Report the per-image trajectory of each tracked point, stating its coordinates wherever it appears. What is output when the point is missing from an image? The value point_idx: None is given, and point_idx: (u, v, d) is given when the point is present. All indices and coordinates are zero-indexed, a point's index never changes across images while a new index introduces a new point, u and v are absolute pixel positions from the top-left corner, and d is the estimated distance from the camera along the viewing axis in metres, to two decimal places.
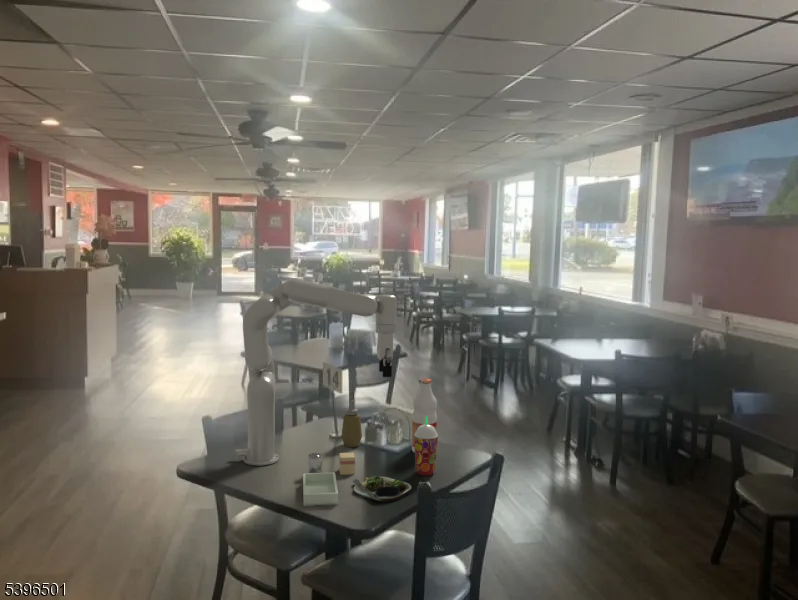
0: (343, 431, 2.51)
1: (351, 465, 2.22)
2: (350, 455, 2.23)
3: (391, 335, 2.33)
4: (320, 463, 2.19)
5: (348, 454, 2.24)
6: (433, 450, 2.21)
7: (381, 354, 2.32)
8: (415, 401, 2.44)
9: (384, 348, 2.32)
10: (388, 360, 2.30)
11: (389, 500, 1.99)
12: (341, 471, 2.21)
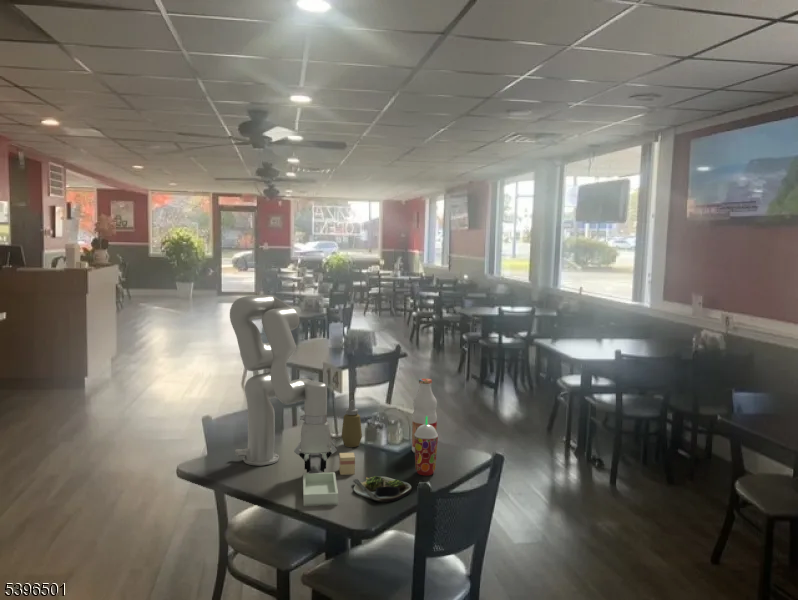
0: (343, 431, 2.51)
1: (351, 465, 2.22)
2: (350, 455, 2.23)
3: None
4: (320, 463, 2.19)
5: (348, 454, 2.24)
6: (433, 450, 2.21)
7: (330, 445, 2.18)
8: (415, 401, 2.44)
9: (330, 438, 2.19)
10: None
11: (389, 500, 1.99)
12: (341, 471, 2.21)
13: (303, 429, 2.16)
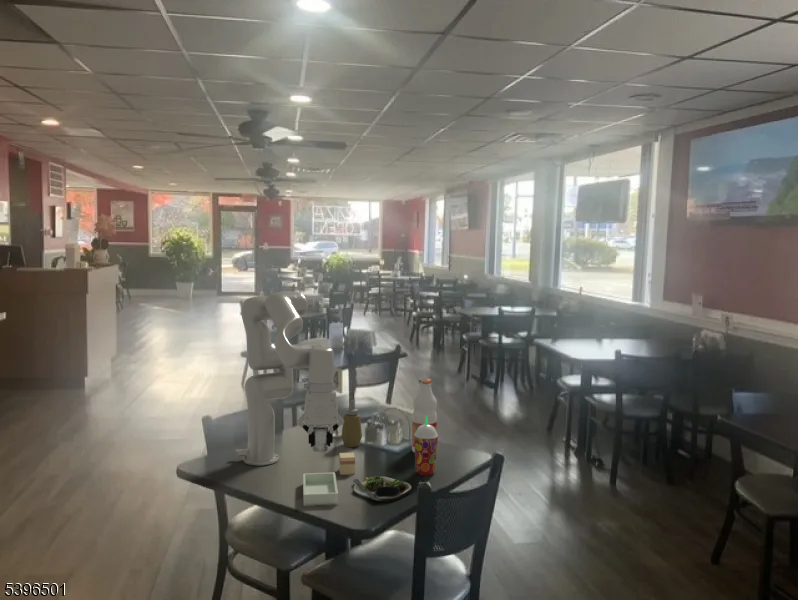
0: (343, 431, 2.51)
1: (351, 465, 2.22)
2: (350, 455, 2.23)
3: None
4: (326, 436, 1.97)
5: (348, 454, 2.24)
6: (433, 450, 2.21)
7: (337, 417, 1.97)
8: (415, 401, 2.44)
9: (337, 409, 1.97)
10: None
11: (388, 500, 1.99)
12: (341, 471, 2.21)
13: (307, 398, 1.95)
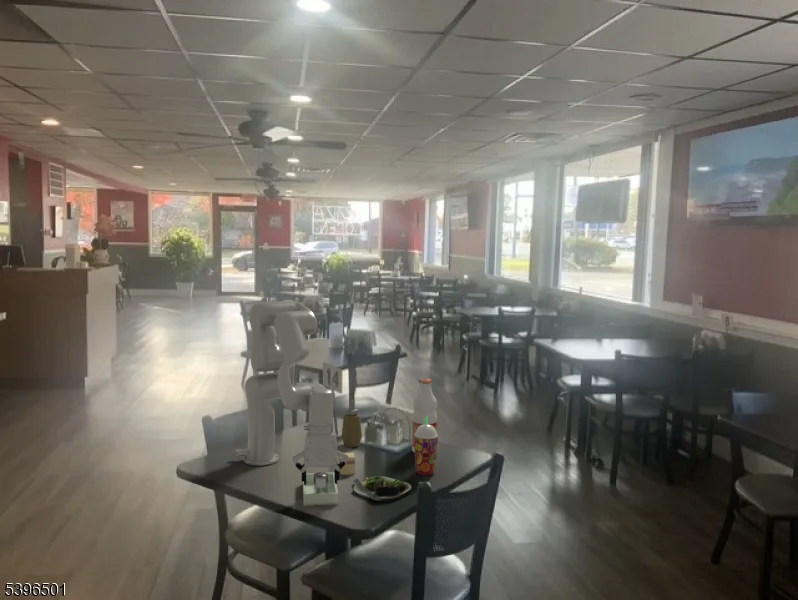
0: (343, 431, 2.51)
1: (351, 465, 2.22)
2: (350, 455, 2.23)
3: None
4: (326, 484, 1.99)
5: (348, 454, 2.24)
6: (433, 450, 2.21)
7: None
8: (415, 401, 2.44)
9: (337, 450, 1.98)
10: None
11: (388, 500, 1.99)
12: (341, 471, 2.21)
13: (307, 440, 1.96)
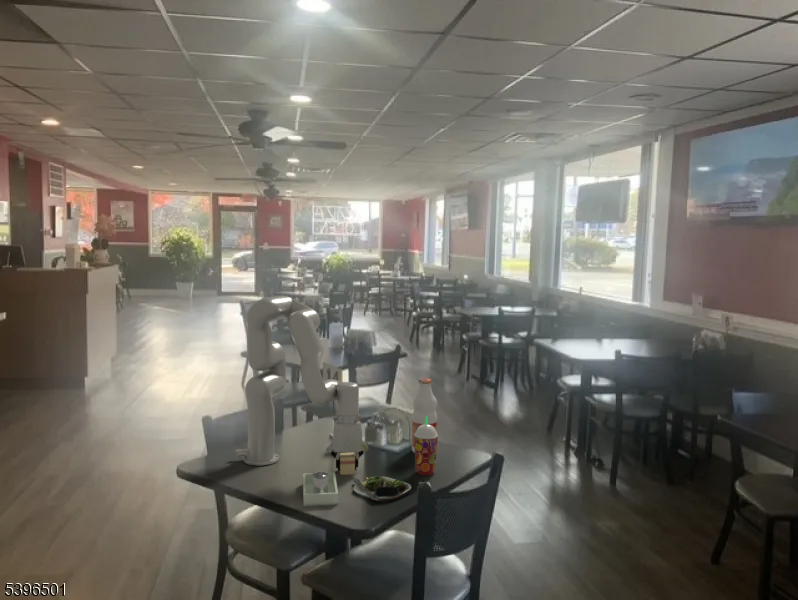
0: None
1: (351, 465, 2.22)
2: (350, 455, 2.23)
3: None
4: (326, 484, 1.99)
5: (348, 454, 2.24)
6: (433, 450, 2.21)
7: (362, 444, 2.22)
8: (415, 401, 2.44)
9: None
10: None
11: (388, 500, 1.99)
12: (341, 471, 2.21)
13: (336, 428, 2.20)
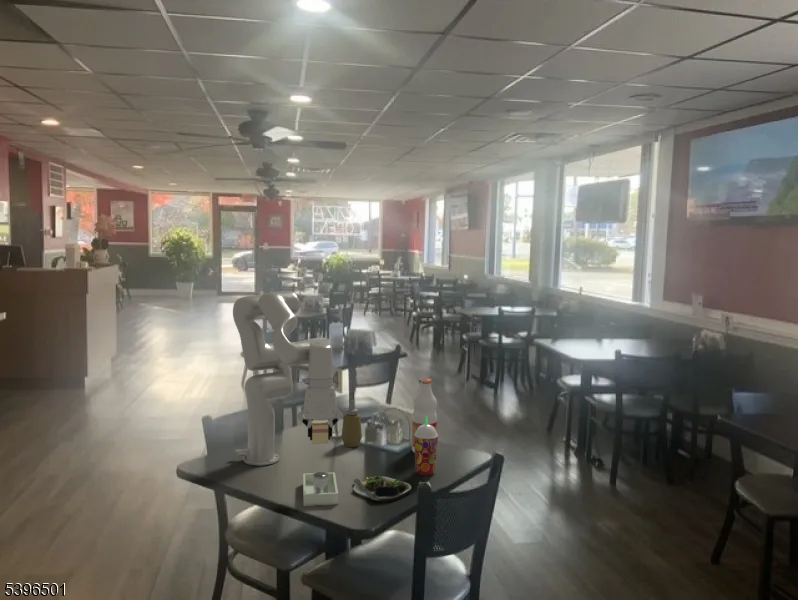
0: (343, 431, 2.51)
1: (324, 434, 2.04)
2: (323, 423, 2.05)
3: None
4: (326, 484, 1.99)
5: (321, 422, 2.07)
6: (433, 450, 2.21)
7: (336, 411, 2.04)
8: (415, 401, 2.44)
9: None
10: None
11: (387, 500, 1.99)
12: (313, 440, 2.03)
13: (307, 393, 2.02)
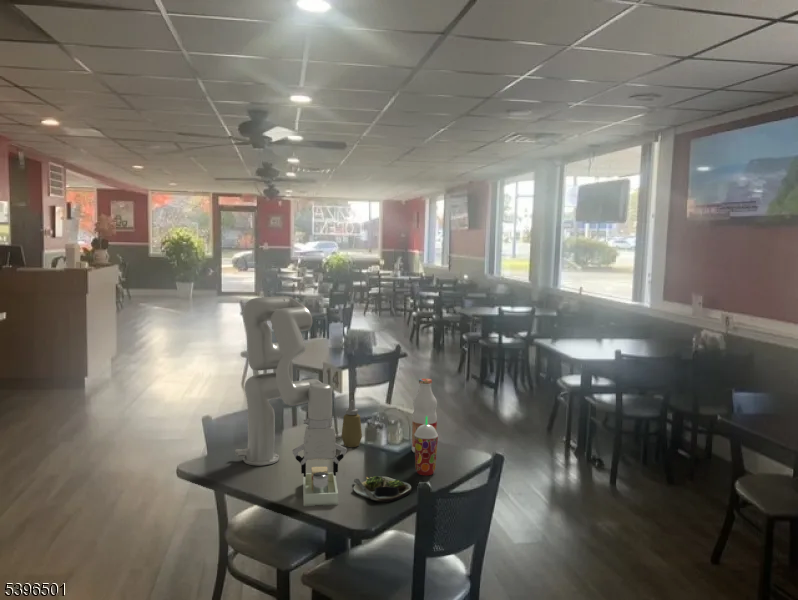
0: (343, 431, 2.51)
1: None
2: (323, 470, 2.06)
3: None
4: (326, 484, 1.99)
5: (321, 468, 2.08)
6: (433, 450, 2.21)
7: (335, 451, 2.05)
8: (415, 401, 2.44)
9: (335, 443, 2.06)
10: None
11: (387, 500, 1.99)
12: None
13: (307, 434, 2.03)
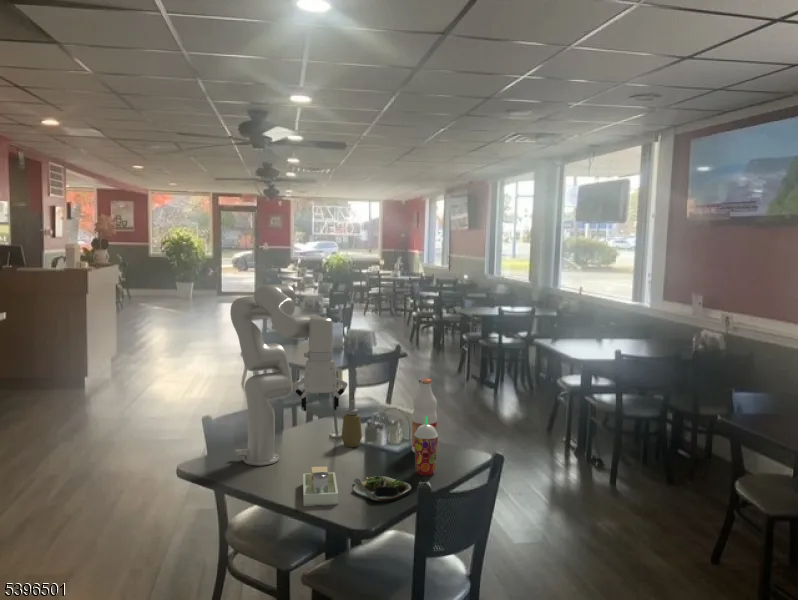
0: (343, 431, 2.51)
1: None
2: (323, 470, 2.06)
3: None
4: (326, 484, 1.99)
5: (321, 468, 2.08)
6: (433, 450, 2.21)
7: (336, 385, 2.03)
8: (415, 401, 2.44)
9: None
10: None
11: (387, 500, 1.98)
12: None
13: (307, 367, 2.01)
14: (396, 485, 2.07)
